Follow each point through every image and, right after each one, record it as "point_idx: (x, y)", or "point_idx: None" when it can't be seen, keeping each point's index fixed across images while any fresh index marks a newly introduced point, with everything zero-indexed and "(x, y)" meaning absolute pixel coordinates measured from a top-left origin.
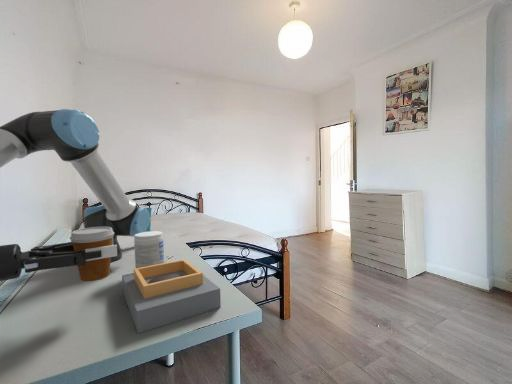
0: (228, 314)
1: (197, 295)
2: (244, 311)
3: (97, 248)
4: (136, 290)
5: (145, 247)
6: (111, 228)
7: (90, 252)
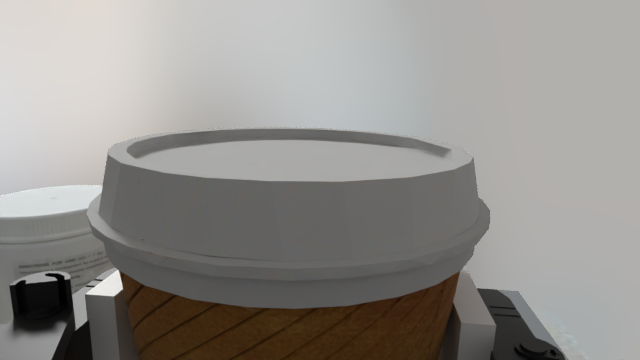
0: (561, 345)
1: (544, 330)
2: (555, 323)
3: (470, 281)
4: None
5: (97, 261)
6: (337, 129)
7: (514, 329)
